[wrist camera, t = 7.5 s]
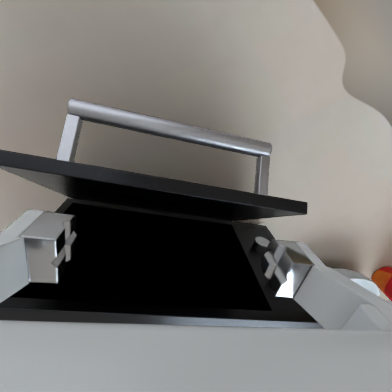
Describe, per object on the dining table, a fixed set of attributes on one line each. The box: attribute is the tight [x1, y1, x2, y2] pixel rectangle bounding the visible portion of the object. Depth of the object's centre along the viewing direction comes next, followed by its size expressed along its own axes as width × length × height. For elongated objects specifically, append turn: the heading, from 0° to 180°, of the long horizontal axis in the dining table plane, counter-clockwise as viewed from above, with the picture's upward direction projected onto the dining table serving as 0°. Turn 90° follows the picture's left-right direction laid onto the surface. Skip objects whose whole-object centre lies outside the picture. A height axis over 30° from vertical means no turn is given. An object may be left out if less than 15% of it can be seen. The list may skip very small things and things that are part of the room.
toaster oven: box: [0, 198, 324, 329], centre depth 37 cm, size 29×36×22 cm
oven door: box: [0, 98, 307, 221], centre depth 29 cm, size 7×27×20 cm, turn 78°
